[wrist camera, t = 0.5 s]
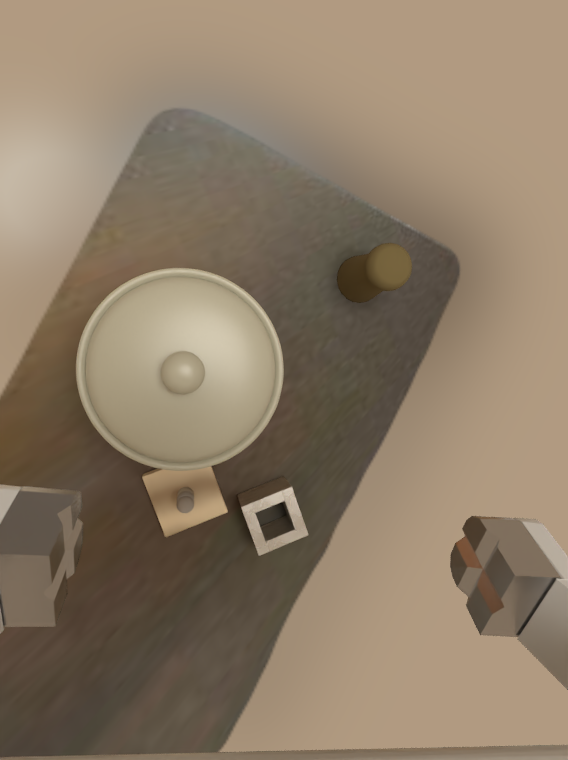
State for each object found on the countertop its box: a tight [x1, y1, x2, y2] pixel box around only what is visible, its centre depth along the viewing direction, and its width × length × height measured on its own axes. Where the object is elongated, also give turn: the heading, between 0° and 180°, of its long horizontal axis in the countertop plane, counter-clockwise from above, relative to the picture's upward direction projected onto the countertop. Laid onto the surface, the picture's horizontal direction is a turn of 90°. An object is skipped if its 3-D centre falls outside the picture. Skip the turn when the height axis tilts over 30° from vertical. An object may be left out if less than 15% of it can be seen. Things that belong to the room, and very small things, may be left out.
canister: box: [76, 268, 284, 471], centre depth 48 cm, size 18×18×21 cm
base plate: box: [142, 466, 228, 537], centre depth 56 cm, size 8×8×6 cm
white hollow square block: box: [237, 476, 308, 556], centre depth 59 cm, size 6×6×5 cm
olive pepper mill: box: [337, 243, 412, 303], centre depth 56 cm, size 6×6×11 cm
